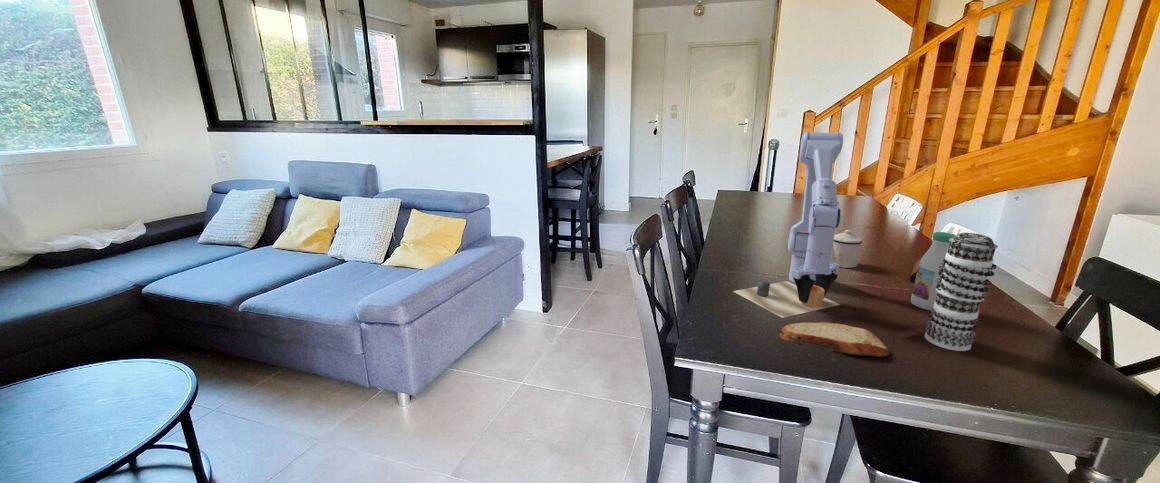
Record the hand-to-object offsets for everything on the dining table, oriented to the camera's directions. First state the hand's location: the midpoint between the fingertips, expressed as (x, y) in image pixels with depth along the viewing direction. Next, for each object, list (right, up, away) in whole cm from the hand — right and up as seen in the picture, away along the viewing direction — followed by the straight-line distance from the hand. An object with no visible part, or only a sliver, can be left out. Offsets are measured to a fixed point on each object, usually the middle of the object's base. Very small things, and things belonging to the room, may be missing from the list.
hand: (811, 299), depth 122 cm
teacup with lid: (+25, +8, +32) cm, 42 cm away
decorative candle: (+22, -7, -18) cm, 29 cm away
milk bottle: (+31, -2, +1) cm, 31 cm away
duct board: (-6, -1, +3) cm, 7 cm away
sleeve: (0, -1, 0) cm, 1 cm away
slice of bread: (-4, -8, -18) cm, 20 cm away
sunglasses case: (+47, +4, +21) cm, 52 cm away
